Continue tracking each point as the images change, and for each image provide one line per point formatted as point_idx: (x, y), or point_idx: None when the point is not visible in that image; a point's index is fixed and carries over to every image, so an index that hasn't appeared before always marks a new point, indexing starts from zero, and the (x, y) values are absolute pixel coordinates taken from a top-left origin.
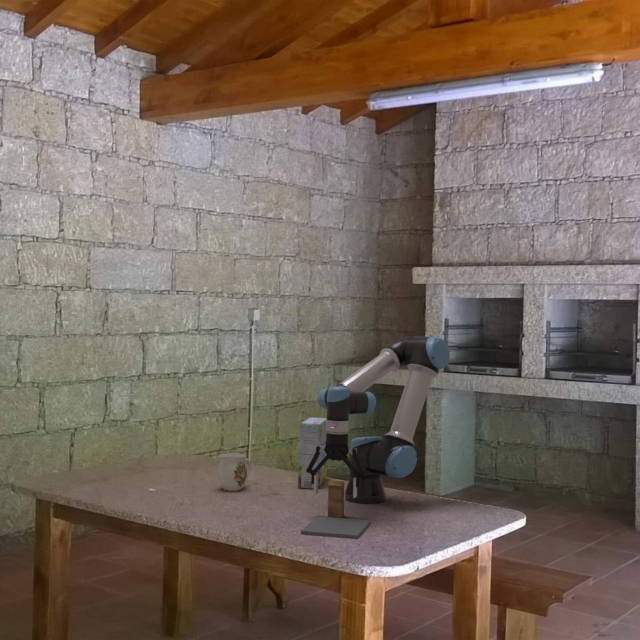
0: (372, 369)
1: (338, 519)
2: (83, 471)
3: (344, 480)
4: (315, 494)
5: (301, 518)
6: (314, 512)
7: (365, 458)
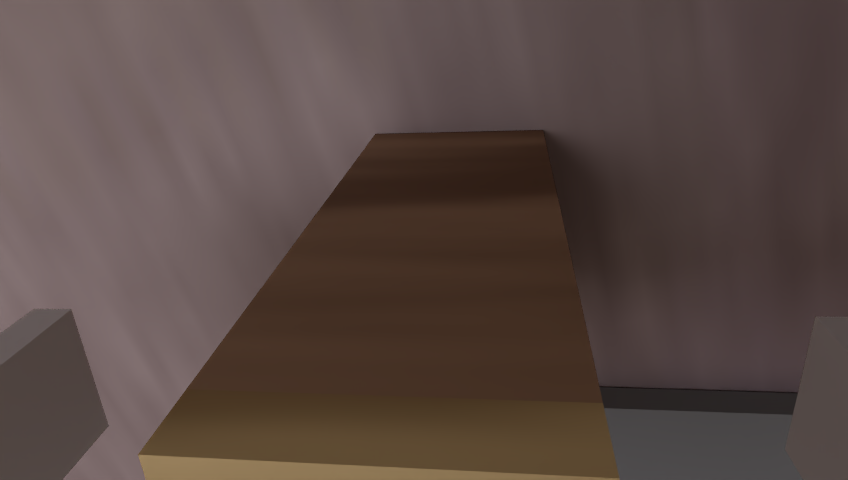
0: None
1: None
2: None
3: (617, 472)
4: (99, 428)
5: (167, 376)
6: (152, 90)
7: None
